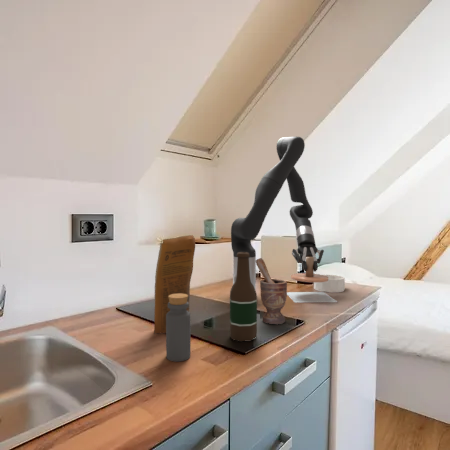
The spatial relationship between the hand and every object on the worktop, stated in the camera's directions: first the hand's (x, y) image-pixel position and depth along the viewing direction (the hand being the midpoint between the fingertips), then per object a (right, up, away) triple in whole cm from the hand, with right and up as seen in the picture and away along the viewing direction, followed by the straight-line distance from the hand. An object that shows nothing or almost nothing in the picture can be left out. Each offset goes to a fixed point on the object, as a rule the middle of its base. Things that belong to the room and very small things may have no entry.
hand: (310, 270), depth 137 cm
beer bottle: (-30, -14, -42) cm, 53 cm away
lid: (0, -4, +2) cm, 4 cm away
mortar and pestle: (-20, -13, -27) cm, 36 cm away
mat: (0, -12, +2) cm, 12 cm away
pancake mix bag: (-50, -13, -33) cm, 61 cm away
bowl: (+13, -12, +17) cm, 24 cm away
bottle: (-46, -14, -55) cm, 73 cm away
